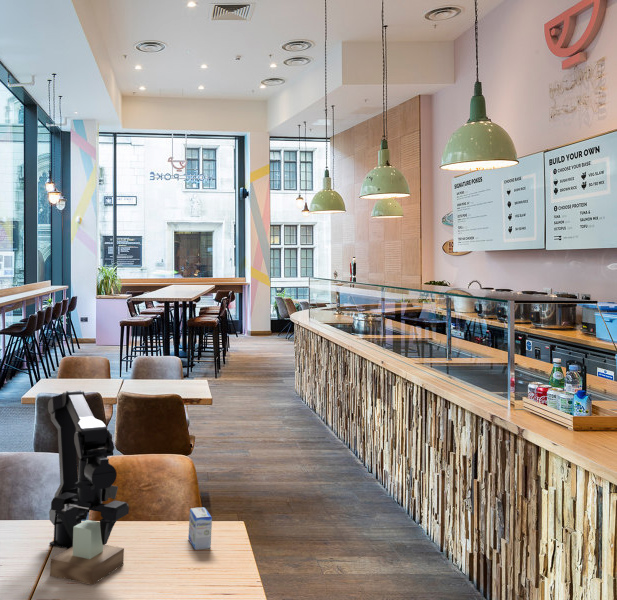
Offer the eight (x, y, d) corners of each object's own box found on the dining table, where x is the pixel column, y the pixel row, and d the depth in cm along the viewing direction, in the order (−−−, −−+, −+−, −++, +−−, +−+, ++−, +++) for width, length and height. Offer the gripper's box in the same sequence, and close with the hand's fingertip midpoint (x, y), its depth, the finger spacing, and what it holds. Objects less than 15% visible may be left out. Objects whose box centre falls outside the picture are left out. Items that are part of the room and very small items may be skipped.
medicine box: (188, 539, 175) (189, 508, 175) (204, 537, 177) (205, 506, 177) (194, 550, 168) (195, 518, 168) (211, 548, 170) (212, 516, 169)
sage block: (72, 555, 152) (73, 526, 152) (86, 547, 157) (86, 519, 157) (90, 559, 151) (91, 530, 151) (103, 551, 155) (104, 522, 155)
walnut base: (50, 575, 150) (50, 558, 150) (83, 555, 162) (83, 540, 161) (92, 584, 146) (93, 567, 146) (123, 564, 158) (123, 548, 158)
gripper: (142, 473, 158) (140, 535, 159) (80, 464, 164) (78, 523, 164) (115, 486, 148) (113, 552, 148) (50, 475, 154) (48, 539, 154)
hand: (88, 541), depth 154 cm, fingers open, 9 cm apart
